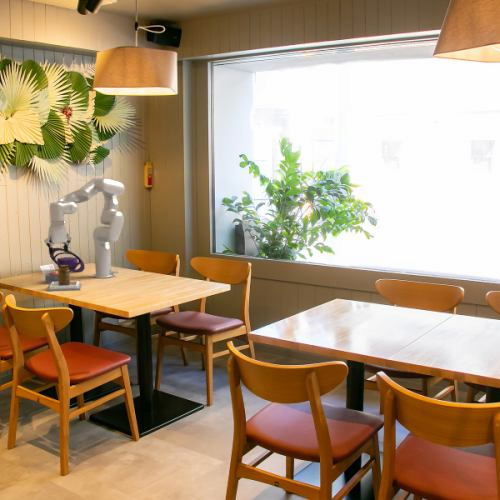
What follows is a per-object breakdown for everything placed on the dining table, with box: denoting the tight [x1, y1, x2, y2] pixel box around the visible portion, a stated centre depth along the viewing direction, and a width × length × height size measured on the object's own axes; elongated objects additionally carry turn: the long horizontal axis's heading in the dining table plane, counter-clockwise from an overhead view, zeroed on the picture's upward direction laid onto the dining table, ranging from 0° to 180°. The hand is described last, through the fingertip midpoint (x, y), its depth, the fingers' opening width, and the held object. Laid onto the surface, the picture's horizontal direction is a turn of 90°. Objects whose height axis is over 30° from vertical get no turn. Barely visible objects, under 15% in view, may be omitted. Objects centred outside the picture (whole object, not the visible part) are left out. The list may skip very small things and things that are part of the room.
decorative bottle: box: [49, 233, 85, 273], centre depth 407 cm, size 22×21×25 cm
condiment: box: [57, 265, 71, 286], centre depth 353 cm, size 7×8×12 cm
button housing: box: [44, 272, 59, 285], centre depth 371 cm, size 10×10×5 cm
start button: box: [49, 270, 59, 275], centre depth 371 cm, size 5×5×3 cm
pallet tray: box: [46, 280, 83, 292], centre depth 355 cm, size 18×16×2 cm
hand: (58, 253), depth 361 cm, fingers open, 9 cm apart
